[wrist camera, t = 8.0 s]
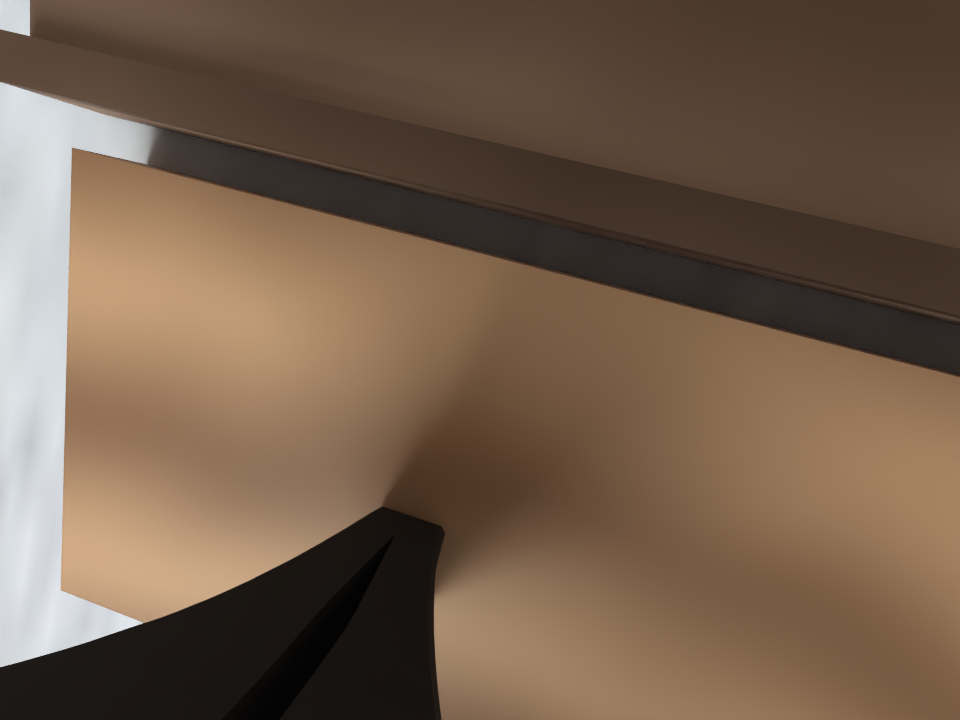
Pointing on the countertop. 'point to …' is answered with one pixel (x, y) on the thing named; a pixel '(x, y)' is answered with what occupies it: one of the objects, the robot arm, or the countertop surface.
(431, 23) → the walnut board
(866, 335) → the countertop surface
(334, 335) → the teak plank
